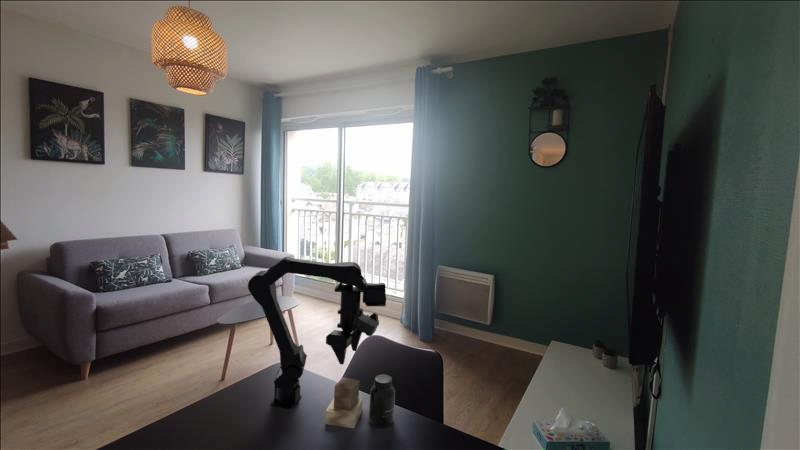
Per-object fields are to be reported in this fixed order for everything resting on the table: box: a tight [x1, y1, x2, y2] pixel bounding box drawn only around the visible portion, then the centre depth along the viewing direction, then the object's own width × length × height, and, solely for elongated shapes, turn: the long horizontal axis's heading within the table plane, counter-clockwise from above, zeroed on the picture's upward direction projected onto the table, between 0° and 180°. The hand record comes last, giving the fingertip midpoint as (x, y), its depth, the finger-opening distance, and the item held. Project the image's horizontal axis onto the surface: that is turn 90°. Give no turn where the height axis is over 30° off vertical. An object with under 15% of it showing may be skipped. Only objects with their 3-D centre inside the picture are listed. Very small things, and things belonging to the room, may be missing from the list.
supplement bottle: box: [368, 374, 396, 428], centre depth 98 cm, size 7×7×12 cm
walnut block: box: [333, 376, 360, 411], centre depth 98 cm, size 5×5×6 cm
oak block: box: [325, 397, 364, 429], centre depth 99 cm, size 8×8×4 cm
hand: (348, 357), depth 107 cm, fingers open, 9 cm apart
